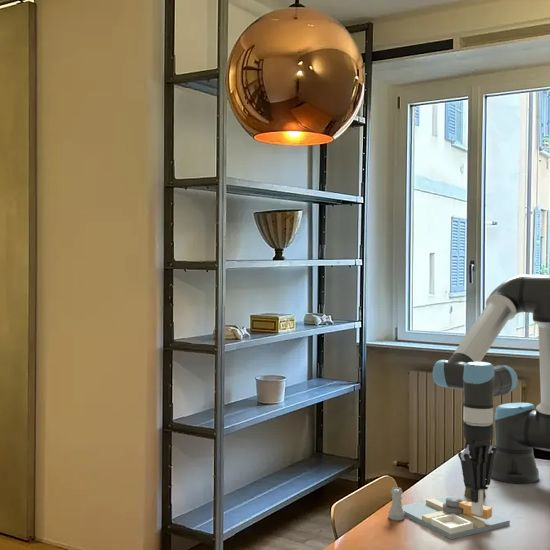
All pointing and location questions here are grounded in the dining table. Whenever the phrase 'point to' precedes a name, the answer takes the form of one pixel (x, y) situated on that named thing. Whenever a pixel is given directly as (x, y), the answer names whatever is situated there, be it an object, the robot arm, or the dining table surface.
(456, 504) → the hinged leg
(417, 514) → the base plate with blocks
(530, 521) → the dining table surface
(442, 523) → the socket
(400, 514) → the rook chess piece
